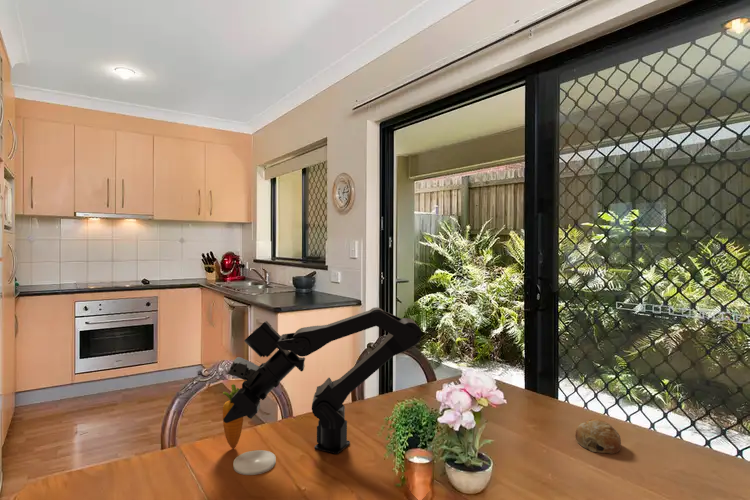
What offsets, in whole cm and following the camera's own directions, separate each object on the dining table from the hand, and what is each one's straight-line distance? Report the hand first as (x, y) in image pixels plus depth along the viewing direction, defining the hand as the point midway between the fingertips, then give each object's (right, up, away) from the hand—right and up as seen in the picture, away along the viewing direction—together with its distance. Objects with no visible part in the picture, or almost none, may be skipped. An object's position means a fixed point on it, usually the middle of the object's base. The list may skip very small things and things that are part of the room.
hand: (227, 417), depth 105 cm
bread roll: (+90, -9, +4) cm, 91 cm away
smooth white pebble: (+8, -8, -7) cm, 13 cm away
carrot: (+1, -8, 0) cm, 8 cm away
